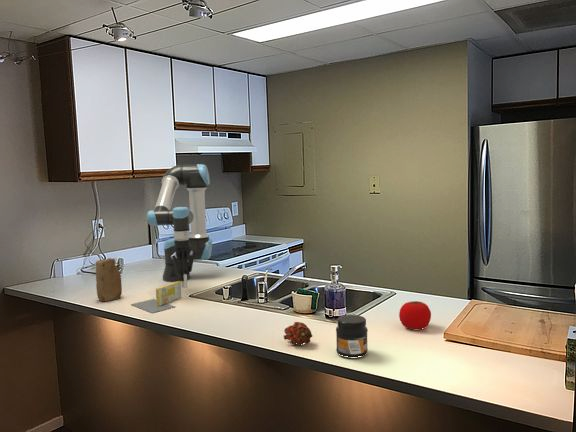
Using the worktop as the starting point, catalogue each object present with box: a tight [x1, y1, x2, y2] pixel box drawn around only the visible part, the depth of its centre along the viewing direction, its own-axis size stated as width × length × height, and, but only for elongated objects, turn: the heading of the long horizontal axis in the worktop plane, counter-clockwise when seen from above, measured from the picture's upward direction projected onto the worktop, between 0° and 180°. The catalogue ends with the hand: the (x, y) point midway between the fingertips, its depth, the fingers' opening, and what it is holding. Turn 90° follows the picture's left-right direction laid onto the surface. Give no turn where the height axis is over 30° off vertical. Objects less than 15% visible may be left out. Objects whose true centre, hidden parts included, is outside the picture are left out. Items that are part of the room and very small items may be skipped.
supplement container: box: [335, 314, 369, 357], centre depth 164 cm, size 10×10×12 cm
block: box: [95, 258, 123, 302], centre depth 239 cm, size 11×8×20 cm
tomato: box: [398, 300, 432, 330], centre depth 188 cm, size 12×12×10 cm
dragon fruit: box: [283, 321, 313, 346], centre depth 175 cm, size 8×8×12 cm
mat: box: [130, 298, 176, 314], centre depth 227 cm, size 12×20×1 cm, turn 44°
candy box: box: [155, 281, 183, 306], centre depth 232 cm, size 16×2×8 cm, turn 154°
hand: (184, 287), depth 238 cm, fingers closed
